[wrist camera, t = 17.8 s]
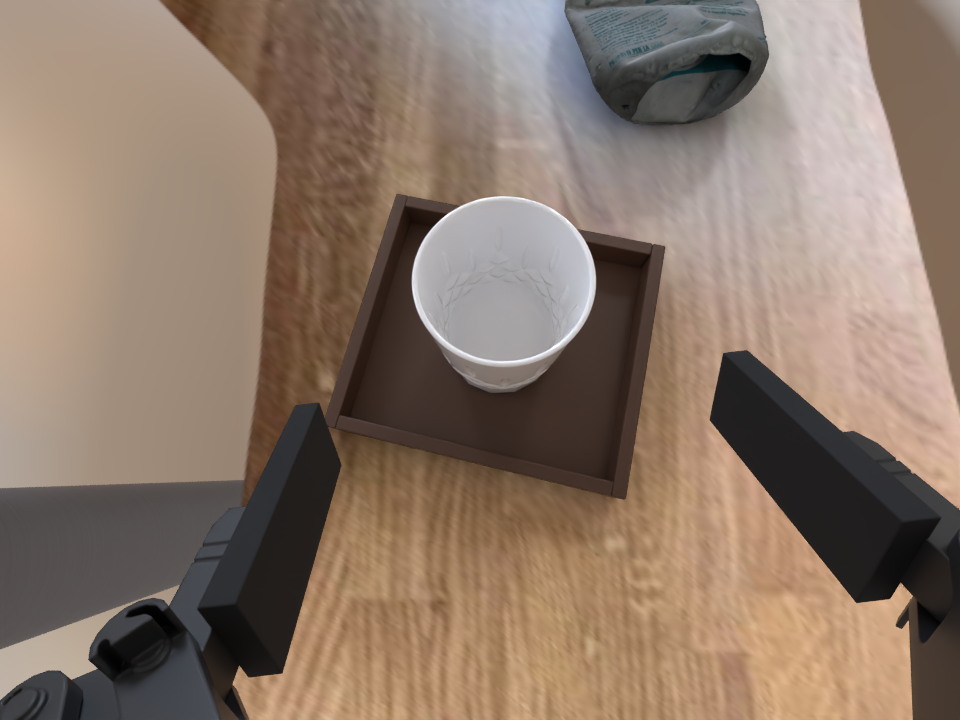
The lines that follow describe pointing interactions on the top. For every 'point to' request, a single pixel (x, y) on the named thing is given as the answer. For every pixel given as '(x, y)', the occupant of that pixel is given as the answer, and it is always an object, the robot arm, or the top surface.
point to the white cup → (503, 289)
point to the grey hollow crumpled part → (670, 55)
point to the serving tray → (509, 415)
